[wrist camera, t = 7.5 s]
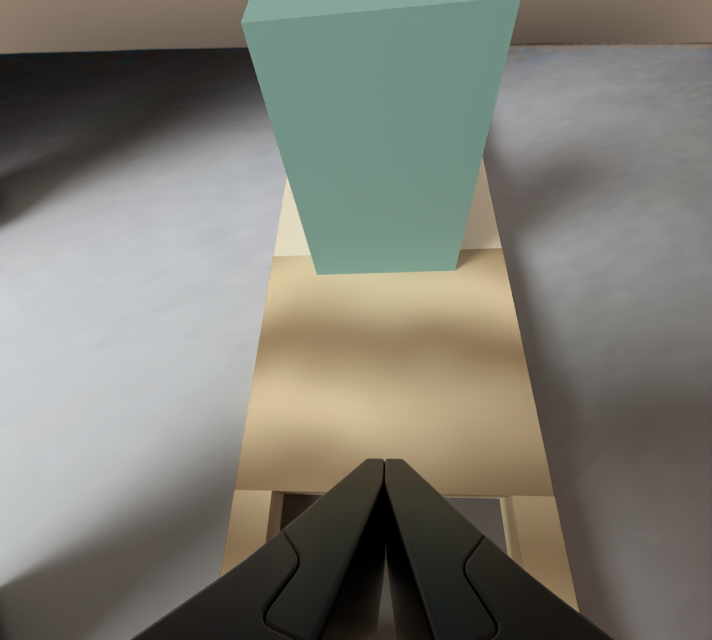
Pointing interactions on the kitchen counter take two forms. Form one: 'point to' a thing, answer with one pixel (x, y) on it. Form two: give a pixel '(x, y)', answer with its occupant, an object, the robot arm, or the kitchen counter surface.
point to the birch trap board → (398, 406)
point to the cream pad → (476, 236)
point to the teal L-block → (381, 120)
